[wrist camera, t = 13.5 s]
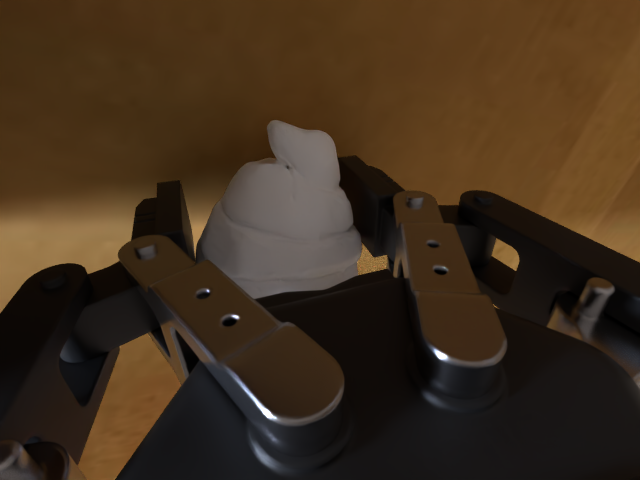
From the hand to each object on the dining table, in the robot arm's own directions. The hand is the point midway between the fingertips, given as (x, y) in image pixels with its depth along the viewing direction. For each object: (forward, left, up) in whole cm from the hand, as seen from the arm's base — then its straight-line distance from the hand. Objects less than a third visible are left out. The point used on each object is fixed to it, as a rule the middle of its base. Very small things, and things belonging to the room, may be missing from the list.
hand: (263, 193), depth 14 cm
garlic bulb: (0, 0, -1) cm, 1 cm away
